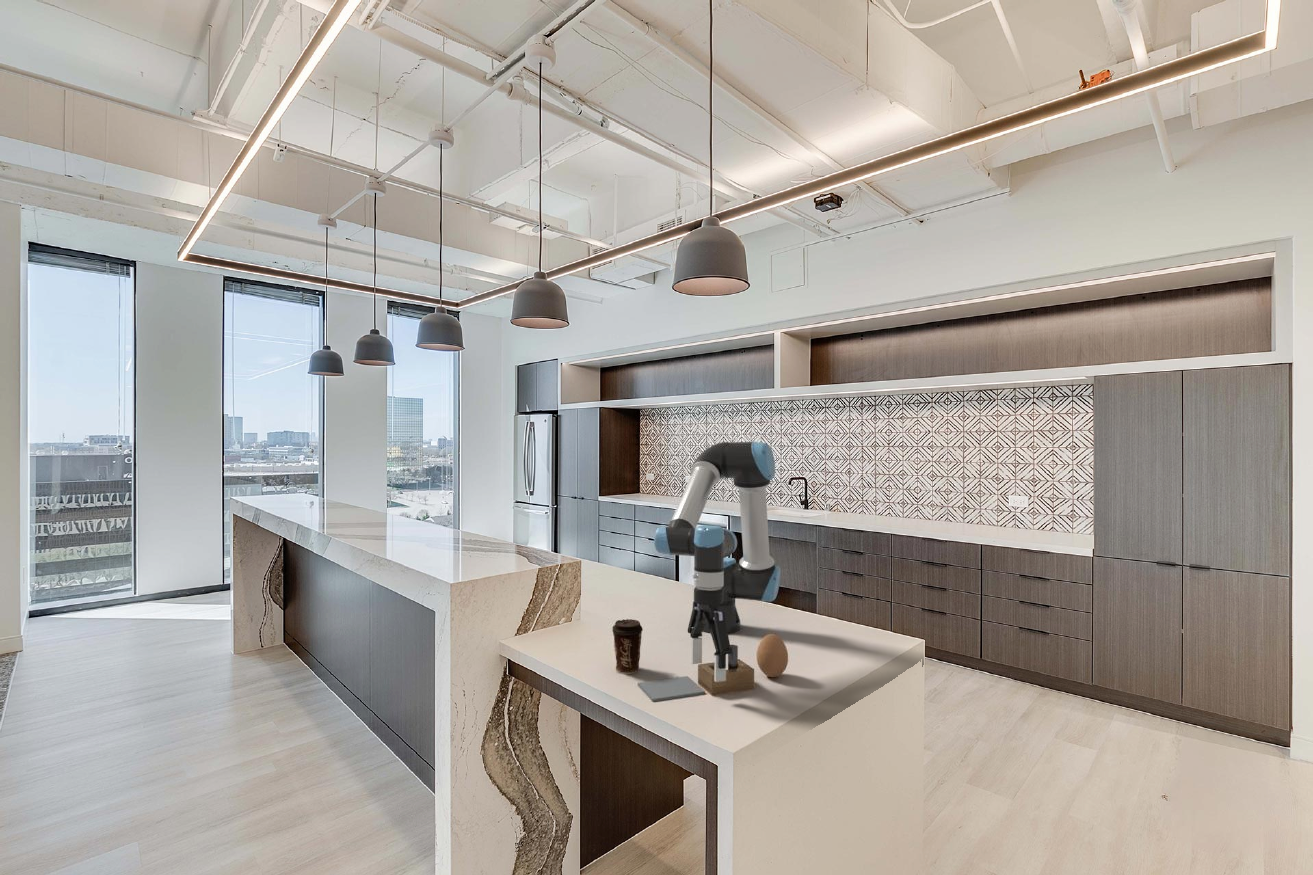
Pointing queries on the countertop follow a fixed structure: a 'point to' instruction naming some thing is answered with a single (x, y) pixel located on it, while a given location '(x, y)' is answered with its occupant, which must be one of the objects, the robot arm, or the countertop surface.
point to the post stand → (733, 657)
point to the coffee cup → (627, 645)
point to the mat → (670, 688)
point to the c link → (734, 679)
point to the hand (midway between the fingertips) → (707, 671)
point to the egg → (772, 655)
